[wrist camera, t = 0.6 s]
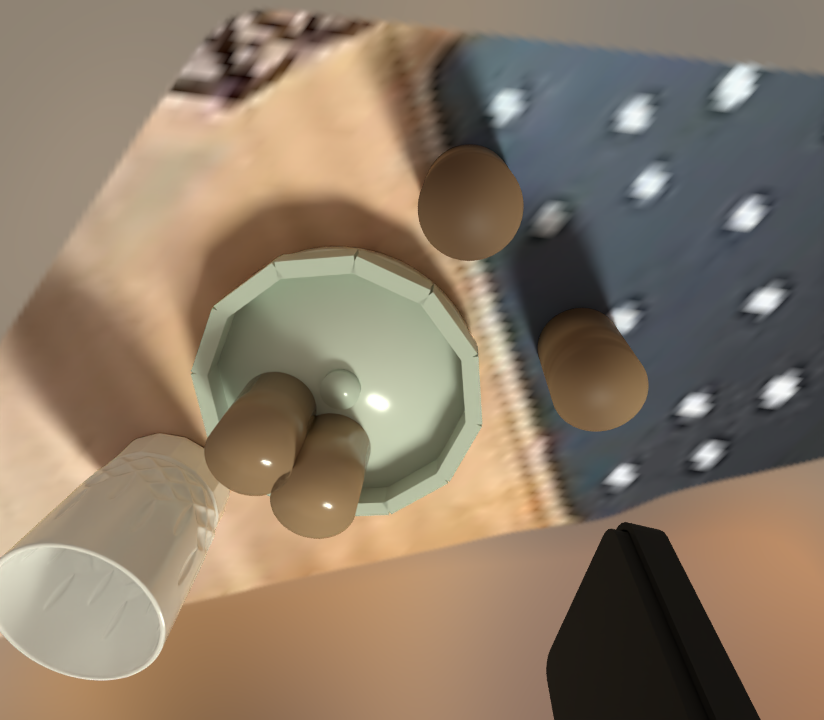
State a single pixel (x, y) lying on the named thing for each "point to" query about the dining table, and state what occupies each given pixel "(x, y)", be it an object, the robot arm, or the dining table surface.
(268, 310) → the tray
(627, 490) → the dining table surface
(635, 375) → the bead
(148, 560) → the white cup
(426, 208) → the bead
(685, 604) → the robot arm
